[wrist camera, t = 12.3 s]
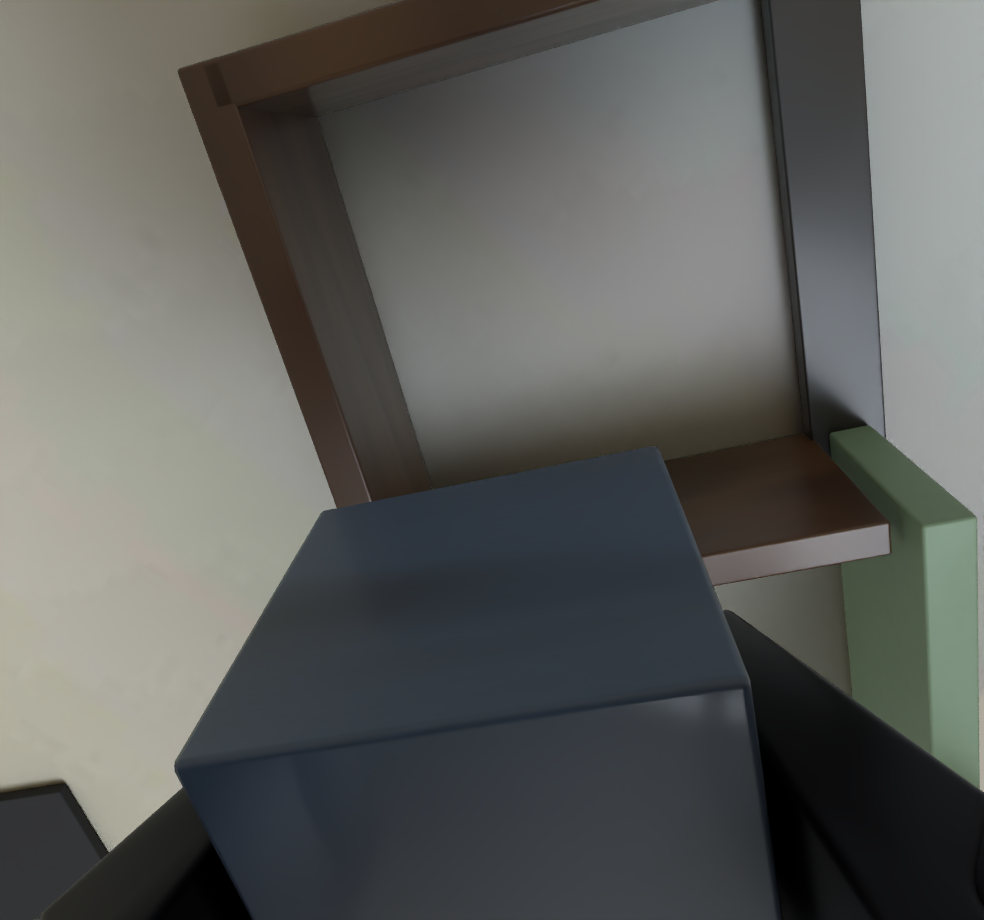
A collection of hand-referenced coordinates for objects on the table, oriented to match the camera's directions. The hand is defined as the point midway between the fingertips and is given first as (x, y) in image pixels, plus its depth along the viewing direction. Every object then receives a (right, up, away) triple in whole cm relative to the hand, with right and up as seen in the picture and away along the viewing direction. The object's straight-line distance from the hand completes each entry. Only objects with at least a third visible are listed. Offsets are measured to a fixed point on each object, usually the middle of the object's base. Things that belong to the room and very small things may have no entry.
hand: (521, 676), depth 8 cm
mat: (-17, -12, +19) cm, 28 cm away
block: (0, 0, +1) cm, 1 cm away
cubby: (+2, +7, +10) cm, 12 cm away
